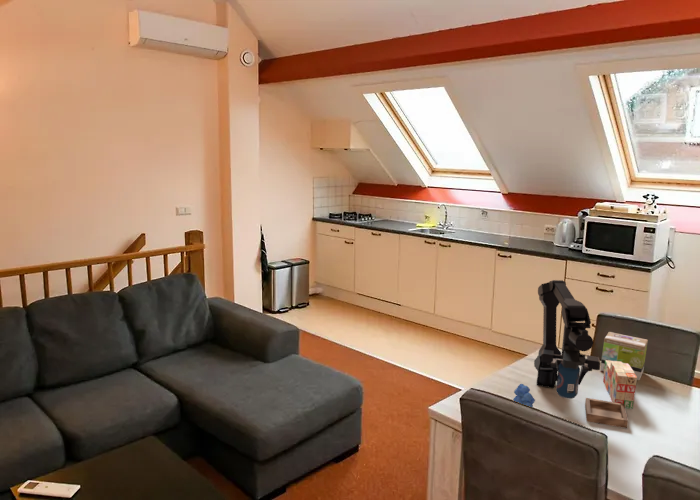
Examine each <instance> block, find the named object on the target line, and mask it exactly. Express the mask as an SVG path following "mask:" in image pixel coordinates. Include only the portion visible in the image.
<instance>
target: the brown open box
mask: <svg viewBox="0 0 700 500" xmlns="http://www.w3.org/2000/svg"><path fill="white" fill-rule="evenodd" d="M584 408H585V418H586V422H589V423H594V424H595V423H596V424H599V425H606V426H613V427H615V428H616V427H617V428H623V429H628V425H629V419H628V415H627V411H626V408H625V405H624V404H621V403H615V402H612V401H610V400H609V401H608V400H601V399H595V398H590V397H585V401H584Z"/></svg>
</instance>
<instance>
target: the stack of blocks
mask: <svg viewBox="0 0 700 500" xmlns="http://www.w3.org/2000/svg"><path fill="white" fill-rule="evenodd" d="M637 381H638V380H637V377H636V375H635V373H634V371H633V370H632V368H631V367H630V365H629V364H628V363H622V362H620V361H609V360H605V365H604V371H603V379H602V382H603V384H604V387H605V389H606V392H607V394H608V395H609V398H610V400H611V402H615V403H621V404H624V405H625V409H632V410H633V409H634V404H635V403H634V402H635V400H634V399H635V393H636V388H637V387H636V386H637Z"/></svg>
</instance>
